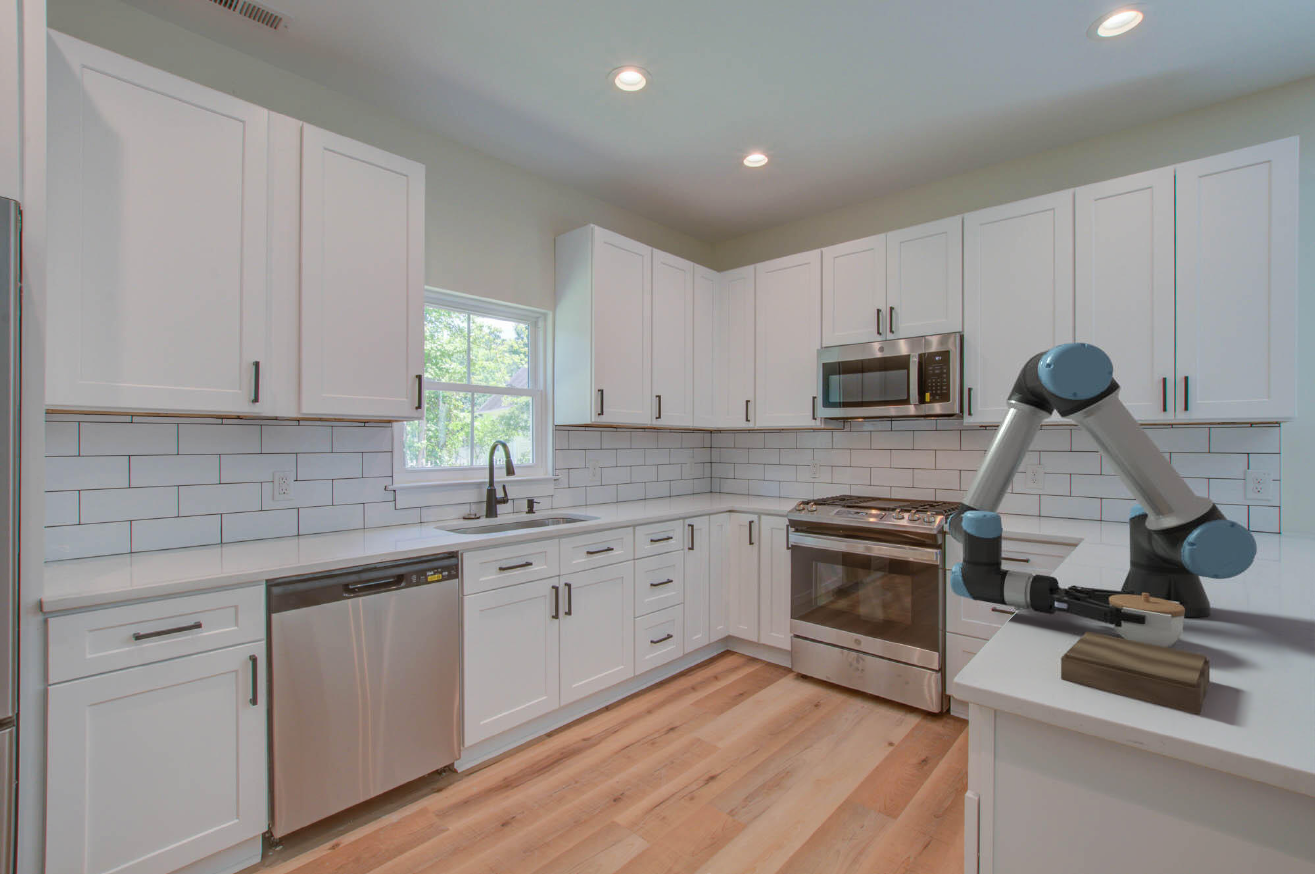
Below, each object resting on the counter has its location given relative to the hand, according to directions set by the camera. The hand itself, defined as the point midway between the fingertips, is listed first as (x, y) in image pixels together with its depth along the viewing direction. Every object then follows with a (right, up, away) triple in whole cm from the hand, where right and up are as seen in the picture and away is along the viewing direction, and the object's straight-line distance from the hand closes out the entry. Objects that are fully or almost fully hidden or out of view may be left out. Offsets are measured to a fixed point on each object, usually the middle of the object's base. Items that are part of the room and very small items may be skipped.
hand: (1175, 616), depth 103 cm
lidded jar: (-3, -6, +3) cm, 8 cm away
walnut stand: (-18, -6, -12) cm, 22 cm away
